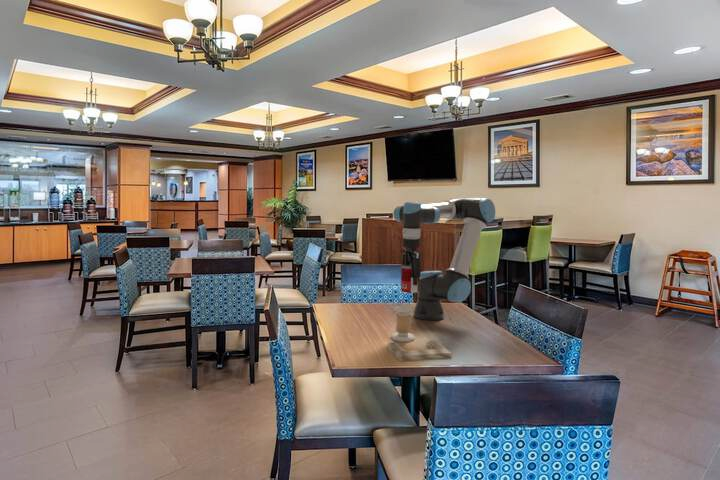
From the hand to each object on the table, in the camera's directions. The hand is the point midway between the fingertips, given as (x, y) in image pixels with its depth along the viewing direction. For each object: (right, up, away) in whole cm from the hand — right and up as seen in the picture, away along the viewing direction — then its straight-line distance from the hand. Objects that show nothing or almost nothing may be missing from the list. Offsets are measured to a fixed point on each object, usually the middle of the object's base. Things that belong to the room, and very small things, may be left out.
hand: (409, 290), depth 194 cm
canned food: (0, -1, 0) cm, 1 cm away
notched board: (+1, -21, -23) cm, 31 cm away
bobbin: (-4, -19, -6) cm, 21 cm away
